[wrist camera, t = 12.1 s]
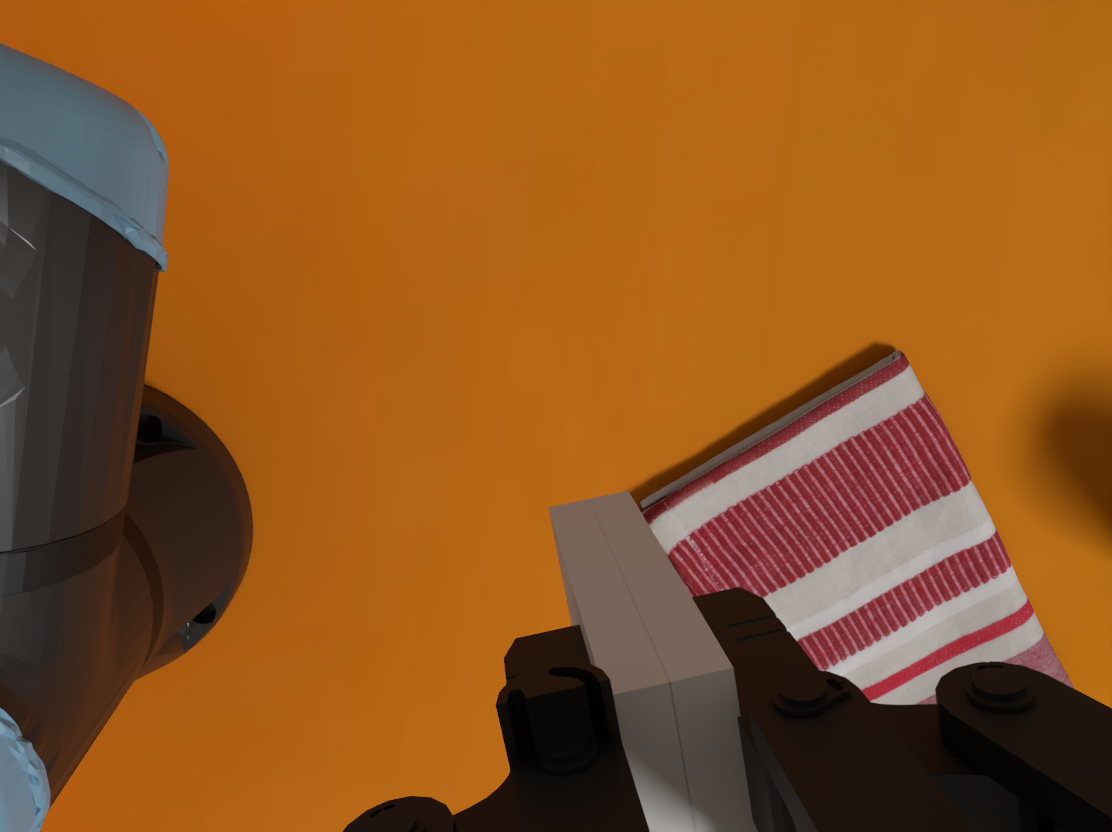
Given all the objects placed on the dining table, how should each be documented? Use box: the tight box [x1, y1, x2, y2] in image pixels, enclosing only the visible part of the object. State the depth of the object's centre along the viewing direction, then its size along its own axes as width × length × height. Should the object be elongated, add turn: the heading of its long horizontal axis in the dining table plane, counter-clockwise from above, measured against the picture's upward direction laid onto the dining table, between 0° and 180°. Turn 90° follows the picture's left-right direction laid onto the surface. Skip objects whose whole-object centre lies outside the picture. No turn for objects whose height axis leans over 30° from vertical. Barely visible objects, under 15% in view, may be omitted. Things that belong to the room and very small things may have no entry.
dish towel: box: [640, 350, 1073, 705], centre depth 50 cm, size 17×23×3 cm
